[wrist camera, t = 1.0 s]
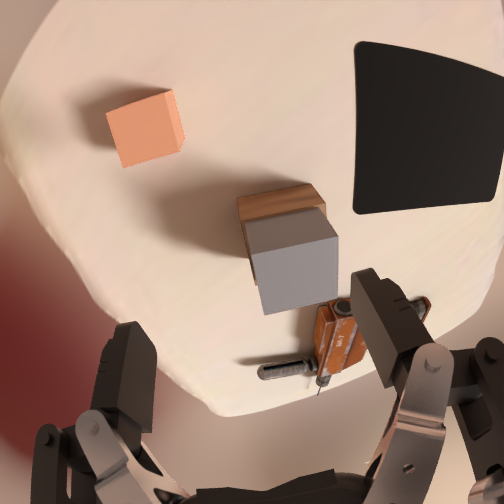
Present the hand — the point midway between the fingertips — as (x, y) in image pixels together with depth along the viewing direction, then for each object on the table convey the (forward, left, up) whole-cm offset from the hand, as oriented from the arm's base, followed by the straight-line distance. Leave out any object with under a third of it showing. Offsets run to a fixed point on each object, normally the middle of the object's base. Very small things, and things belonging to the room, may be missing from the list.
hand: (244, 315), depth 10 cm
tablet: (+1, +27, -21) cm, 35 cm away
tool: (+37, +12, -21) cm, 44 cm away
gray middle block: (+9, +4, -16) cm, 19 cm away
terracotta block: (-5, -6, -21) cm, 22 cm away
